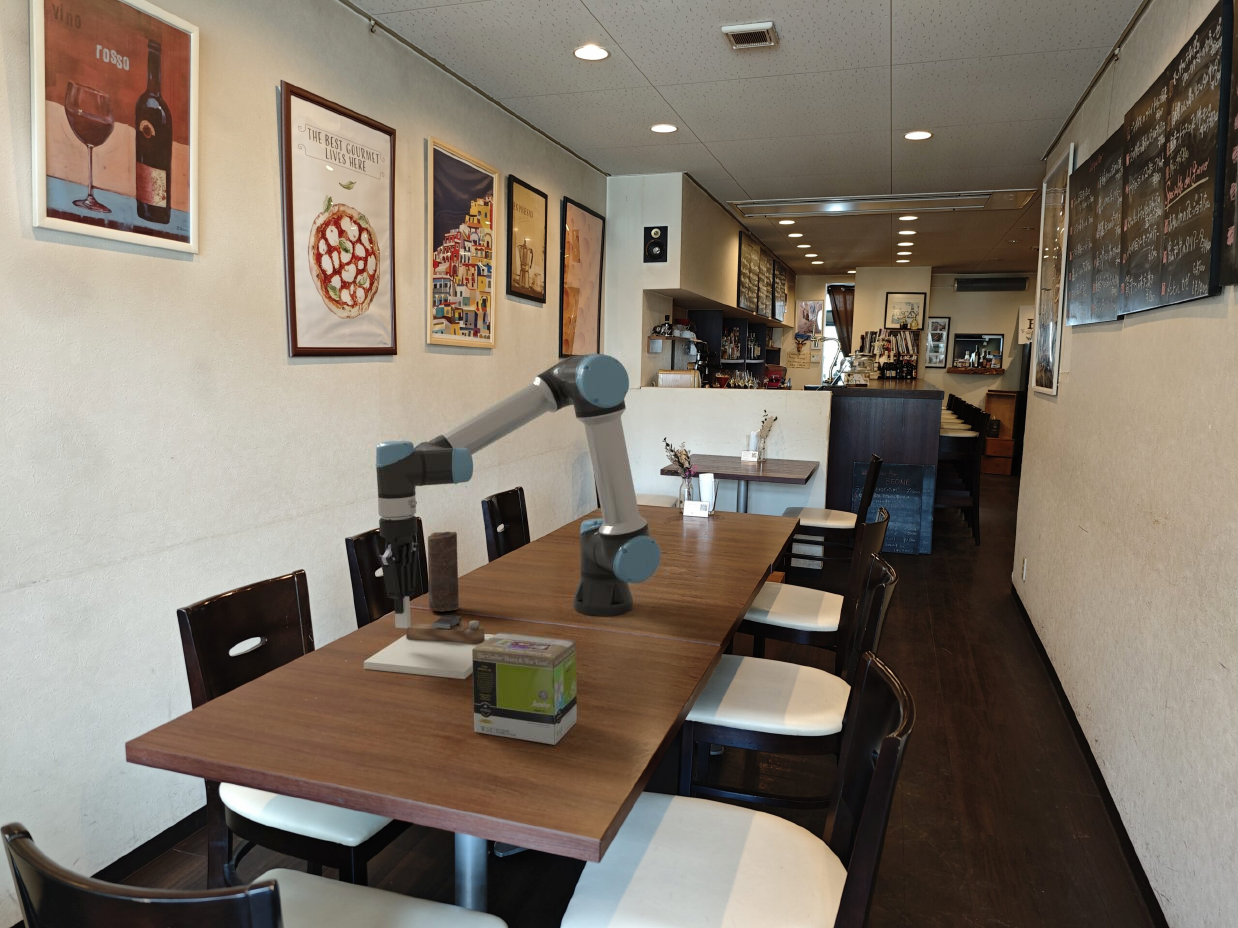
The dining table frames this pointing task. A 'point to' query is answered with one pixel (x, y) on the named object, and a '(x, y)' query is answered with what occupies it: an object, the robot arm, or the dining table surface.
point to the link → (447, 633)
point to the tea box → (525, 687)
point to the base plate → (426, 658)
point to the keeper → (447, 622)
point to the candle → (443, 571)
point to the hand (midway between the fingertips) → (403, 626)
